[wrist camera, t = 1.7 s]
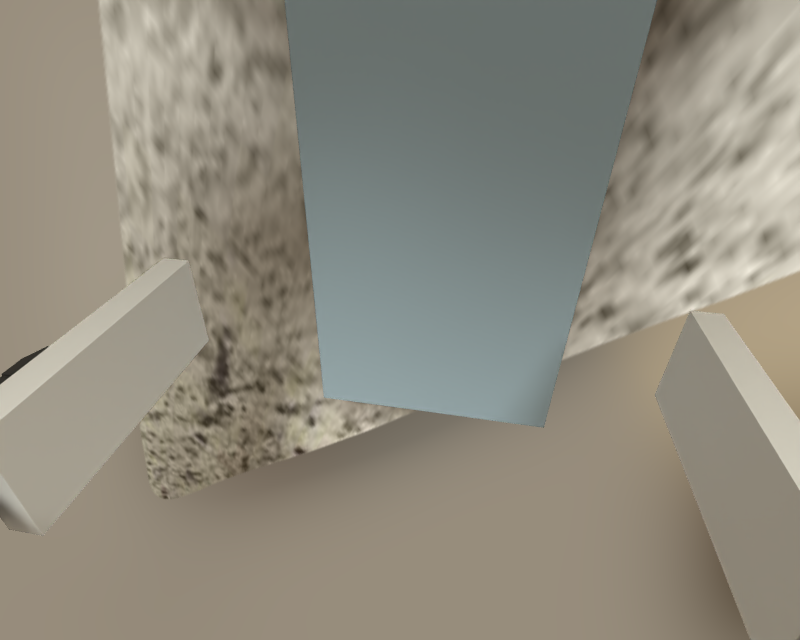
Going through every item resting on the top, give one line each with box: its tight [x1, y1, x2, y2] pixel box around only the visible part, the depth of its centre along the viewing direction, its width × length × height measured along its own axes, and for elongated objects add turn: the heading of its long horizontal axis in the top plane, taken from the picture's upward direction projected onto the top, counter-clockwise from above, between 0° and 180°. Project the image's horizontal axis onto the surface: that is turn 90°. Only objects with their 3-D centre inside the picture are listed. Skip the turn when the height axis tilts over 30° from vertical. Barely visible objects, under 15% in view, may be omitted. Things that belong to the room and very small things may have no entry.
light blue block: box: [285, 0, 657, 427], centre depth 20 cm, size 17×10×6 cm, turn 179°
